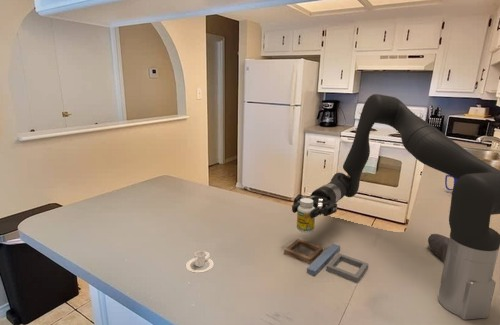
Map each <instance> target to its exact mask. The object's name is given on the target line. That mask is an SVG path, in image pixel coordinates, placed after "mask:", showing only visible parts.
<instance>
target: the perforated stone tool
mask: <svg viewBox="0 0 500 325" xmlns="http://www.w3.org/2000/svg"><path fill="white" fill-rule="evenodd" d="M427 242H428V246H429V249H430V250H431V251H432V252H433V253H434V254H435V255H436V256H437V257H439V258H440V259H441V260H442V261H443V262H445V257H446V252H447V247H448V242H449V237H447V236H446V235H442V234H439V233H432V234H429V236H428V238H427Z"/></svg>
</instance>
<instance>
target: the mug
mask: <svg viewBox="0 0 500 325" xmlns="http://www.w3.org/2000/svg"><path fill="white" fill-rule="evenodd" d="M449 177H450V178H453V186H452V187H453V188H454V185H455V183H456V181H457V179H456V178H454V177H452V176H450V175H448V174H445V178H444V180H445V181H444V182H445V188H446V190H448V191H453V188H449V187H448V184H447V183H448V182H447V181H448V180H447V179H448V178H449Z"/></svg>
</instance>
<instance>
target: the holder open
mask: <svg viewBox="0 0 500 325" xmlns="http://www.w3.org/2000/svg"><path fill="white" fill-rule="evenodd" d="M340 261H342V262H344V263H347V264H350V265H352V266H355V267H357V268H359V269H358V270H357V272H355V273H353V272H349V271H348V270H344V269H342V268H340V267H337V265H338V264H339V263H340ZM368 268H369V262H366V261H362V260H360V259H357V258H354V257H351V256H349V255H346V254H343V253H340V252H338V253H337V254H336V255H335V256H334V257H333V258H332V259H331V260H330V261H329V262H328V263H327V264H326V265H325V271H326V272H329V273H331V274H333V275H336V276H339V277H341V278H344V279H347V281H352V282H353V283H355V284H358V283H359V282H360V280H361V279H362V277H364V275H365V273H366V272H367V270H368Z"/></svg>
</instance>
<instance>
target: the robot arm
mask: <svg viewBox="0 0 500 325" xmlns="http://www.w3.org/2000/svg"><path fill="white" fill-rule="evenodd" d="M365 100H366V101H365V102H364V104H363V107H362V109H361V112H360V116H359V119H358V124H357V126H356V131H355V135H354V138H353V141H352V145H351V147H350V150H349V151H348V154H347V155H346V158H345V160H344V162H343V164H342V169H343V171H344V172H345V173H346V174H345V173H343V172H336V173H334V175H333V176H332V178H331V179H330V181H329V182H328V183H327V184H323V185H322V186H319V187H318V188H316V189H314V190H313V191H312V193H311V194H310V195H308V196H306V197H303V195H302V194H301V193H300V194H299V193H298V194H297V196H296V197H294V198H293V205H292V206H291V212H292V213H294V214H295V213H297V209H298V206H299V205H300V199H302V198H309V199H312V200H313V207H314V208H315V209H313V210H312V211H311V212H310V218H314V217H315V218H317V217H319V216H321V215H323V217H328V216H330V215H333V214H335V213H336V212H337V210H338V202H339V201H340V200H342V199H343V198H344V197H347V198H353V197H354V196H356V195H357V194H358V191H359V189H360V188H359V187H360V181H361V176H362V172H363V170H364V168H365V166H366V164H367V163H368V160H369V157H370V153H371V146H370V133H371V131H372V128H373V127H374V125H375V124H381V125H387V126H389V127H391V128H393V129H394V130H396V131H397V132H398V133H399V134H400V138H401V143H402V145H403V147H404V148H405V150H406V151H407V152H408V153H409V154H411V156H413V157H414V159H416V160H417V161H419V162H420V163H421V164H423V165H425V166H427V167H429V168H432V169H434V170H436V171H439V172H440V173H444V174H445V175H450V176H452V177H451V178H453V177H454V178H456V179H457V181H456V183H455V185H454V184H453V186H454V188H452V189H453V190H451V191H452V193H451V198H450V207H449V216H448V225H449V228H450V234H449V237H448V238H449V242H448V247H447V252H446V257H445V261H444V263H443V267H442V274H441V279H440V284H439V290H438V294H437V295H438V296H437V301H438V302H439V303H440V305H441V306H442V307H443V308H444V309H445V310H447V311H448V312H450V313H452V314H455V315H456V316H458V317H460V318H461V319H462V320H474V319H487V318H488V316H489V312H490V309H491V304H492V300H493V297H494V291H495V288H496V284H497V282H496V281H495V280H494V279H493V276H494V271H495V268H496V263H497V259H498V254H499V250H500V233H499V232H498V231H497V230H495V229H493V228H492V227H490V223H491V216H493V215H500V169H498V168H496V167H494V166H492V165H490V164H489V163H487V162H485V161H483V160H481V159H480V158H478V157H476V156H475V155H473V154H472V153H471V152H469V151H468V150H467V149H465V148H464V147H462V146H461V145H460V144H459V143H457V142H455V141H454V140H452V139H451V138H450V137H448V136H447V135H446V134H445V133H443V132H442V131H440V129H438V128H436V127H435V126H434V125H432V124H430V123H428V122H427V121H426V120H424V119H423V118H421V117H420V116H418V115H416V113H414V112H413V111H412V110H411V109H410V108H408V106H406V104H405V103H403V102H402V100H400V99H398V98H397V97H395V96H390V95H385V94H380V93H379V94H378V93H374V94H371V95H370V96H368V98H367V99H365ZM347 174H348V175H347ZM454 178H453V179H454Z"/></svg>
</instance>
